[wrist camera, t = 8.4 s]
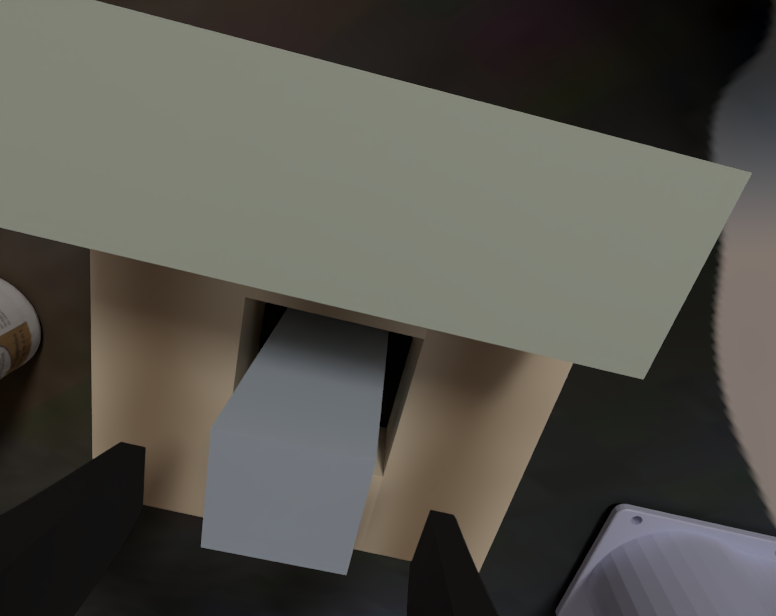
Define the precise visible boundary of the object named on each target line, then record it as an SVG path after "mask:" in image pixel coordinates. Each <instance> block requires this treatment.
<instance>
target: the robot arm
mask: <svg viewBox="0 0 776 616" xmlns="http://www.w3.org/2000/svg"><path fill="white" fill-rule="evenodd" d="M145 453H146V447H143V446H138V445H134V444H129V443H125V442H120V443H118V444H116V445H115V446H113V447H111V448H110V449H108V450H107V451H105V452H103V453H102V454H100V455H99V456H97V457H96V458H94V459H92V460H91V461H89V462H88V463H86V464H85V465H83V466H81V467H80V468H78V469H77V470H75V471H74V472H72V473H70V474H69V475H67V476H66V477H64V478H62V479H61V480H59V481H58V482H56V483H54V484H53V485H51V486H49V487H48V488H46V489H44V490H43V491H41V492H39V493H38V494H36V495H34V496H33V497H31V498H30V499H28V500H26V501H25V502H23V503H21V504H19V505H18V506H16V507H14V508H12V509H11V510H9V511H7V512H5V513H3V514H2V515H0V616H74V615H75V613H76V612H77V611H78V609H79V608H80V606H81V605H82V603H83V602H84V601H85V599H86V598H87V596H88V595H89V594H90V592H91V591H92V589H93V588H94V587H95V585H96V584H97V582H98V581H99V580H100V578H101V577H102V575H103V574H104V572H105V571H106V570H107V568H108V567H109V565H110V564H111V562H112V561H113V560H114V558H115V557H116V555H117V554H118V552H119V551H120V549H121V547H122V546H123V544H124V542H125V540H126V539H127V537H128V535H129V533H130V532H131V530H132V528H133V526H134V524H135V523H136V521H137V519H138V517H139V515H140V513H141V511H142V510H143V497H144V475H145ZM635 516H636V517H635ZM633 517H634V518H633ZM555 613H556V616H776V537H773V536H768V535H764V534H759V533H755V532H750V531H746V530H741V529H737V528H732V527H728V526H723V525H719V524H714V523H710V522H705V521H701V520H696V519H692V518H687V517H683V516H678V515H674V514H669V513H665V512H660V511H656V510H651V509H647V508H642V507H638V506H633V505H629V504H620V505H617V506H616V507H615V508H614V509H613V510H612V511H611V513H610V515H609V517H608V519H607V520H606V522H605V524H604V526H603V527H602V529H601V531H600V533H599V534H598V536H597V538H596V540H595V541H594V543H593V545H592V547H591V548H590V550H589V552H588V554H587V556H586V557H585V559H584V561H583V563H582V564H581V566H580V568H579V570H578V571H577V573H576V575H575V577H574V578H573V580H572V582H571V584H570V585H569V587H568V589H567V591H566V593H565V594H564V596H563V598H562V600H561V601H560V603H559V605H558V607H557V608H556V611H555ZM407 616H499V615H498V613H497V611H496V609H495V607H494V605H493V603H492V600H491V598H490V596H489V594H488V592H487V590H486V588H485V586H484V584H483V581H482V579H481V577H480V575H479V573H478V570H477V568H476V566H475V563H474V561H473V559H472V556H471V554H470V552H469V549H468V547H467V545H466V542H465V540H464V537H463V535H462V532H461V529H460V527H459V524H458V522H457V519H456V517H455V516H454V515H453V514H448V513H444V512H439V511H435V510H430V512H429V515H428V517H427V520H426V523H425V526H424V528H423V531H422V534H421V537H420V539H419V542H418V545H417V548H416V550H415V553H414V556H413V559H412V561H411V564H410V571H409V585H408V601H407Z"/></svg>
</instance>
